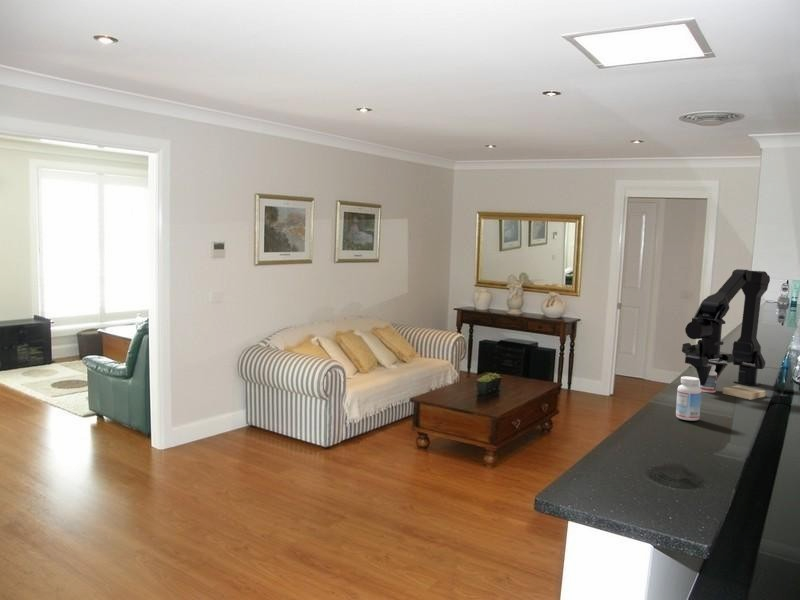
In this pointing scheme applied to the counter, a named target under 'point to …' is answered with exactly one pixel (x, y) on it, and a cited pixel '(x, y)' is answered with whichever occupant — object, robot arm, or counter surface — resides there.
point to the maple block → (744, 392)
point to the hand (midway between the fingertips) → (707, 384)
